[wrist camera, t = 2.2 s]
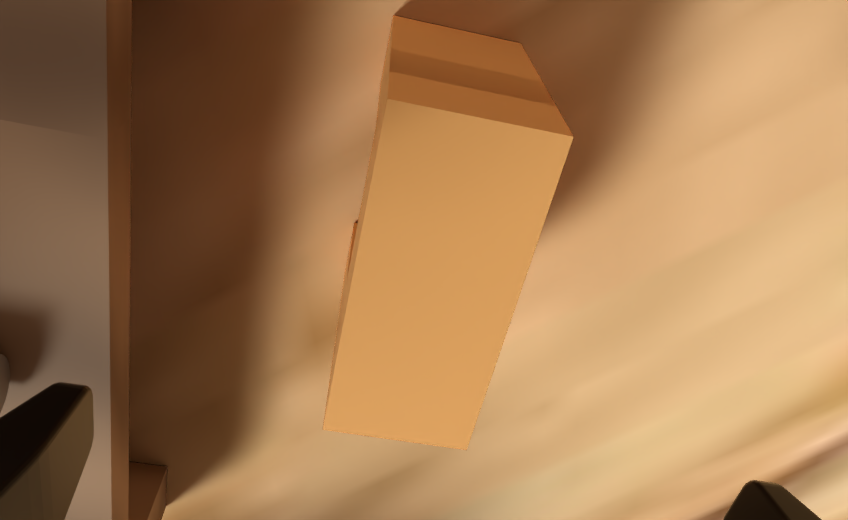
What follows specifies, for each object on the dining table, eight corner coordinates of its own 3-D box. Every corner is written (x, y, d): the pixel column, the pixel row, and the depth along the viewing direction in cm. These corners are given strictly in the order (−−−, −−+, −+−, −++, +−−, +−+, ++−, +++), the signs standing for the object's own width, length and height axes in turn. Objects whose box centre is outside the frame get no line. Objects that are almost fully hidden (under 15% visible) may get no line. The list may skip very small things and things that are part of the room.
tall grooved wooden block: (450, 291, 20) (466, 450, 15) (344, 273, 19) (322, 429, 14) (520, 43, 16) (573, 136, 11) (393, 15, 16) (387, 99, 11)
